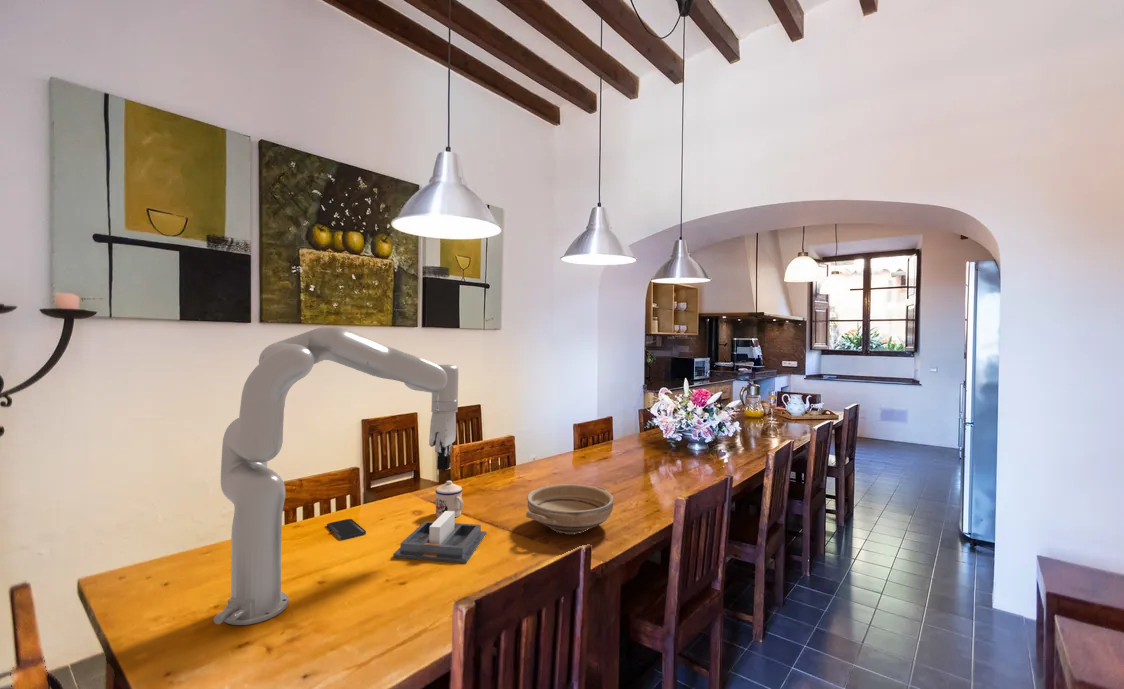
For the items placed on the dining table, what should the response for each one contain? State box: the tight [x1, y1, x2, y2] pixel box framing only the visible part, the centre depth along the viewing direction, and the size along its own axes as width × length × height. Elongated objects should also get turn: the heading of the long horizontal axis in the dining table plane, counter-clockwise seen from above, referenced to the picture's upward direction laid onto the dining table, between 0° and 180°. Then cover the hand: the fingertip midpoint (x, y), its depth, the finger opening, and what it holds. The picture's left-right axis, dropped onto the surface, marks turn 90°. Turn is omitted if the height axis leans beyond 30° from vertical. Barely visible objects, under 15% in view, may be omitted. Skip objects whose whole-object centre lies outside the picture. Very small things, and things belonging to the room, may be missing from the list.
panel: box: [429, 511, 456, 545], centre depth 147 cm, size 13×3×7 cm, turn 174°
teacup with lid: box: [435, 480, 464, 519], centre depth 172 cm, size 12×9×12 cm
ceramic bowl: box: [525, 483, 615, 535], centre depth 164 cm, size 37×29×10 cm
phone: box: [326, 518, 367, 541], centre depth 158 cm, size 8×1×15 cm
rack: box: [392, 520, 487, 564], centre depth 147 cm, size 20×21×4 cm
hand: (443, 468), depth 147 cm, fingers closed
